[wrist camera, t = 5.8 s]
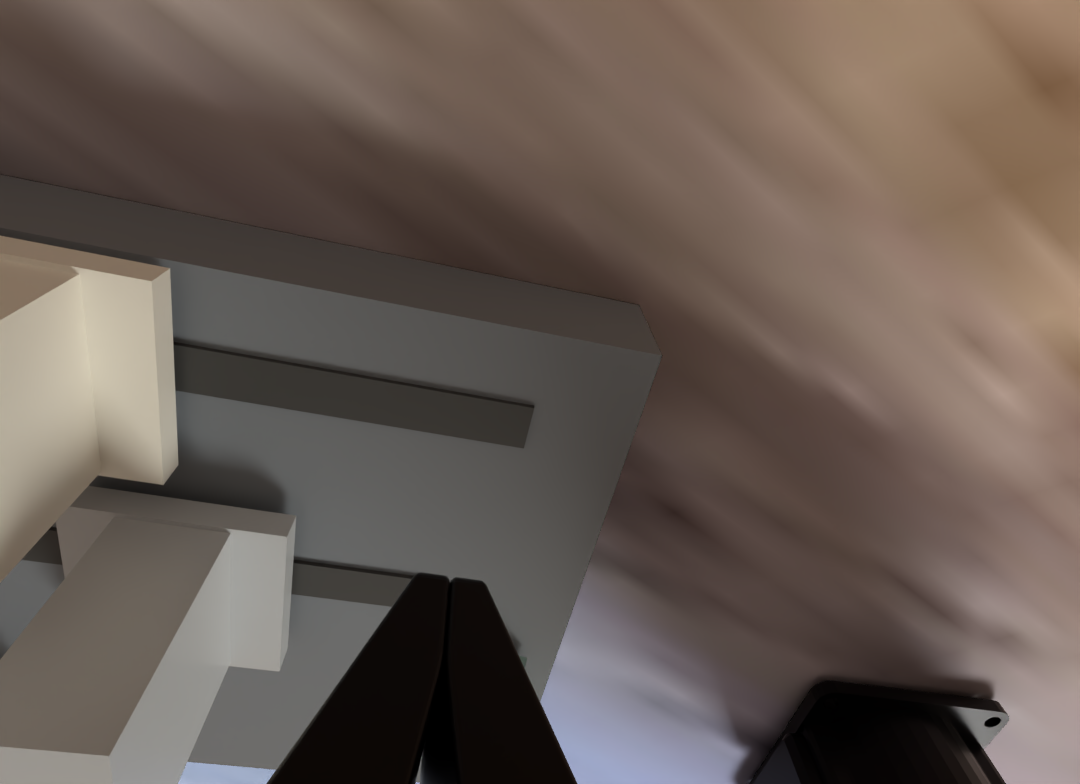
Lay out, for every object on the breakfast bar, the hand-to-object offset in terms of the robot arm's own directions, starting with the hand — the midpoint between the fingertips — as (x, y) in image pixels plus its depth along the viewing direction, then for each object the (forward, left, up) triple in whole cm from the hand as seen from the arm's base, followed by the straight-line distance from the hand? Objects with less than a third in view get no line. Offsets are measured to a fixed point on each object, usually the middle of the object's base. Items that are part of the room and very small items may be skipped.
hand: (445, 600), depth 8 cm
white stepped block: (+5, +5, -4) cm, 8 cm away
